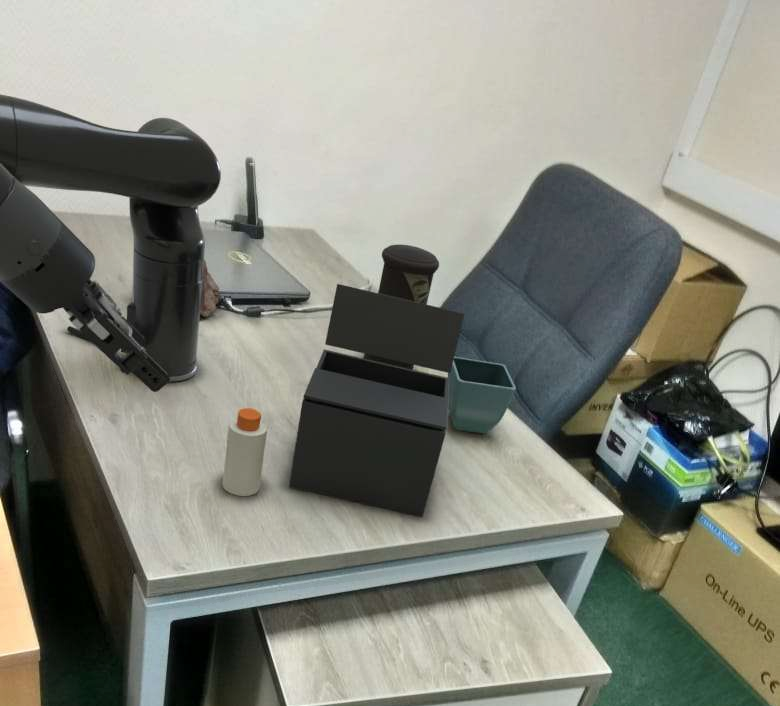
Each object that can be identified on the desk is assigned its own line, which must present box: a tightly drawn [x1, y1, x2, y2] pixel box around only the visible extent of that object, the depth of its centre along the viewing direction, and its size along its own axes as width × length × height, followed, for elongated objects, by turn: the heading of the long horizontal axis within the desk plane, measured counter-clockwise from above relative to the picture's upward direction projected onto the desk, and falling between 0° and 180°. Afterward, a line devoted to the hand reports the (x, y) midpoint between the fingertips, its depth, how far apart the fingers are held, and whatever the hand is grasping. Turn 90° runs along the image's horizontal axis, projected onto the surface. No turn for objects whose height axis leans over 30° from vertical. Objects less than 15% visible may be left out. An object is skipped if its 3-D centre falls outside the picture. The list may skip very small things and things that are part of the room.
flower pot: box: [446, 356, 517, 435], centre depth 121 cm, size 9×9×9 cm
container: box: [363, 244, 440, 370], centre depth 129 cm, size 9×9×20 cm
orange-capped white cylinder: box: [222, 407, 268, 497], centre depth 95 cm, size 4×4×10 cm
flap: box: [324, 283, 465, 374], centre depth 105 cm, size 17×8×1 cm
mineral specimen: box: [200, 259, 221, 318], centre depth 135 cm, size 12×13×15 cm
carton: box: [288, 349, 449, 518], centre depth 103 cm, size 17×16×13 cm
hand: (150, 365), depth 82 cm, fingers open, 8 cm apart
